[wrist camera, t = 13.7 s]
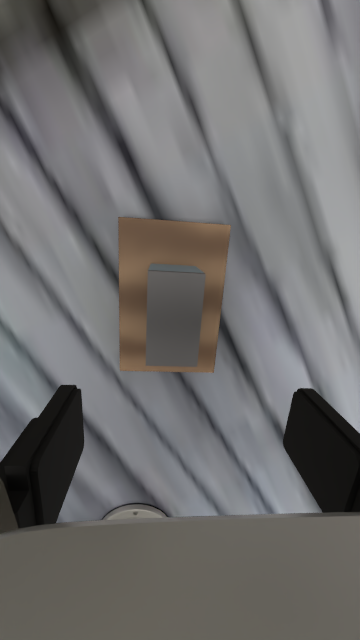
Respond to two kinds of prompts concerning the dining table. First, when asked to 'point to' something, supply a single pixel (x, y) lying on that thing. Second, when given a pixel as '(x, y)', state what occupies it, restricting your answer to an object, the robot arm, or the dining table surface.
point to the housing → (174, 315)
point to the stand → (173, 249)
